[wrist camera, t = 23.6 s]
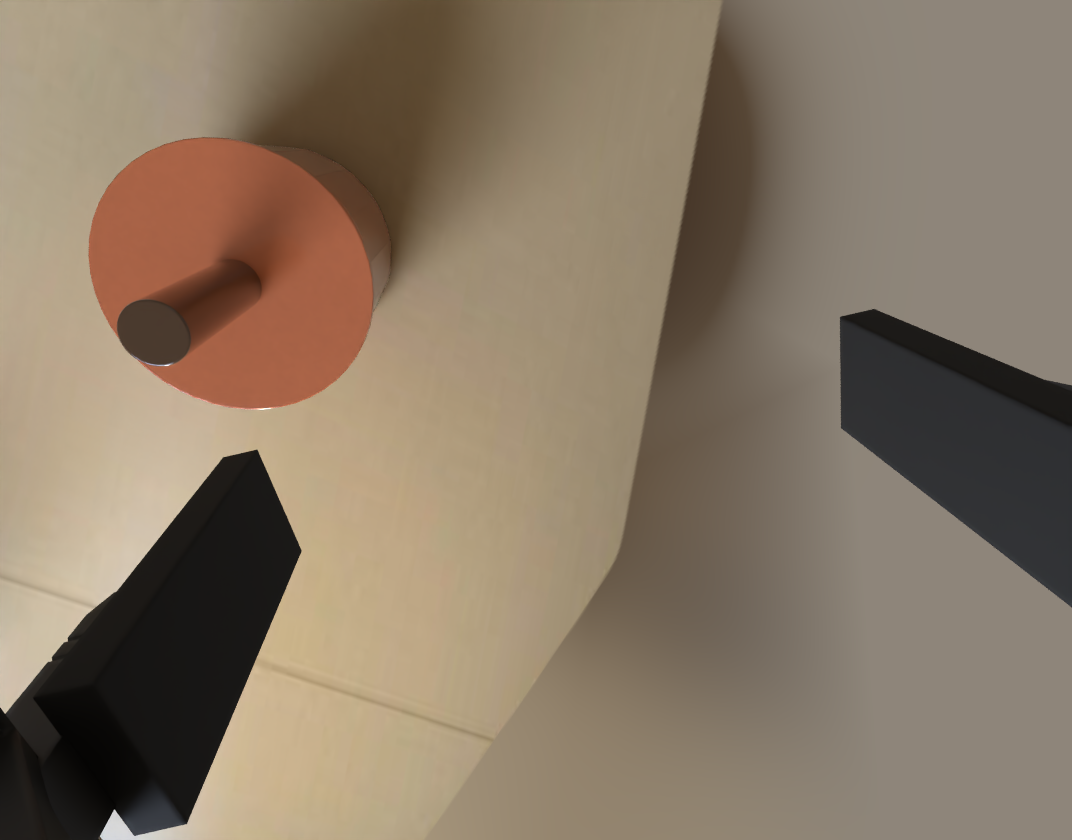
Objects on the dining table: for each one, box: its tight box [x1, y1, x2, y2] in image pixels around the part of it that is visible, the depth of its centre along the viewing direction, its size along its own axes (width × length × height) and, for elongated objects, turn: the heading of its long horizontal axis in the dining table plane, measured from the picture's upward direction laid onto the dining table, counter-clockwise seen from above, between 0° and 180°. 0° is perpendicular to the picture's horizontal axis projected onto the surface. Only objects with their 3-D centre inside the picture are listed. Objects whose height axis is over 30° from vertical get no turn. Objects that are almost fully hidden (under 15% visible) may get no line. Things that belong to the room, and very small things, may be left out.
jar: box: [263, 145, 391, 312], centre depth 38 cm, size 13×13×12 cm
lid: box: [89, 137, 375, 409], centre depth 29 cm, size 14×14×10 cm
